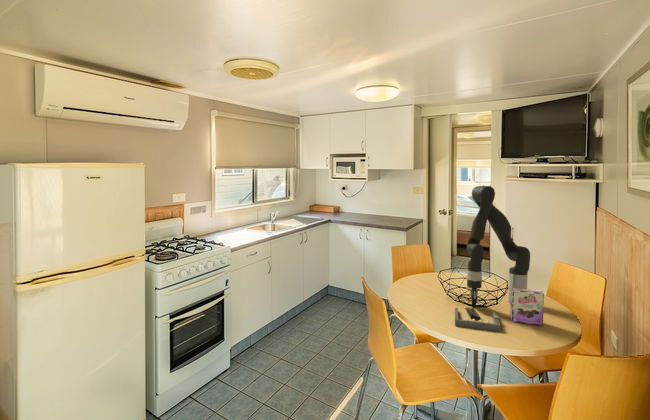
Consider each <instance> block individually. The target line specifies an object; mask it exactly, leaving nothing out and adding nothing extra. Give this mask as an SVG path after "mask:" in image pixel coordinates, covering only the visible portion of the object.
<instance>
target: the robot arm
mask: <svg viewBox="0 0 650 420" xmlns="http://www.w3.org/2000/svg"><path fill="white" fill-rule="evenodd" d="M471 196H472V199H473V201H474V203H476V204H477V205H476V206H478V207H479V208H478V209H479V210H478V212H477V214H476V216H475V218H474V219H473V221H472V224H471V228H470V235H469V237H468V240H467V243H466V247H465V248H466V252H467V254H468V255H470V259H469V260H468V262H467V274H466V286H467V288H471V289H470V290H469V294H470V302H471V308H473V309H476V308H477V303H478V296H479V291H478V289H481V288H482V284H483V281H482V280H483V279H482V278H483V274H482V263H483V261H484V260H483V259H484V255H485V250H484V247H483V246H482V245H481V241H482V240H483V239H484V238H485V234H486V229H487V228H486V226H487V222H488V223H489V225H490V227H491V228H492V230H493V232H494V233H495V235H496V236H497V237H496V238H497V239H498V240H499V242H500V244H501V246H502V249H503V251H504V253H505V255H506V257H507V258H508V259H509V260H510V261H512V262H515V265H514V266H513V267H512V266H511V267H509V270H508V274H509V275H508V303H509V304H511V288H517V289H528V272H529V271H530V266H531V265H530V264H531V252H530V250H529V248H528V247H526V246H520V245H517V244H516V243H515V242H514V239H513V238H512V225H511V224H510V222H509V220H508V218H507V217H506V215H505V214H504V213H503V212H502V211H501V210H500V209H498V208H497V206H495V205H494V204H493V203H494V200H495V196H496V190H495V189H494V187H492V186H490V185H479V186H475V187H474V188H472V191H471Z"/></svg>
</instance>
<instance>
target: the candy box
mask: <svg viewBox="0 0 650 420" xmlns="http://www.w3.org/2000/svg"><path fill="white" fill-rule="evenodd" d="M544 294H545V293H544V292H543V291H542V290H540V289H539V290H536V289H529V288H527V289H517V288H511V303H510V314H509V315H510V316H509V317H510V320H511V322H512V323H521V324H526V325H527V324H529V325H536V326H544V296H545V295H544Z"/></svg>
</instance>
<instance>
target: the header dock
mask: <svg viewBox="0 0 650 420" xmlns="http://www.w3.org/2000/svg"><path fill="white" fill-rule="evenodd" d="M491 316H492V319H493V320H492V321H493V323H492V322H490V320H485V322H483V320H482V319H480V320H478V321H477V320H475V319H473V320H469V318H468V317H466V318H465V319H459V307H454V327H460V328H467V329H473V330H474V329H475V330H481V331H490V332H499V333H500V332H501V327H502V326H501V324H500V321H499V315H498V314H497V312H495V311H493V312H492V315H491Z"/></svg>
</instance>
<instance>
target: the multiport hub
mask: <svg viewBox="0 0 650 420" xmlns="http://www.w3.org/2000/svg"><path fill="white" fill-rule="evenodd" d="M464 308H465V310H466V312H467V315H468V316H469V317H470V320H471V321H473V319H475V321H479V320H481V316H480V315H479V313H477V311H476V310H475V308H473V307H464Z"/></svg>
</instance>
